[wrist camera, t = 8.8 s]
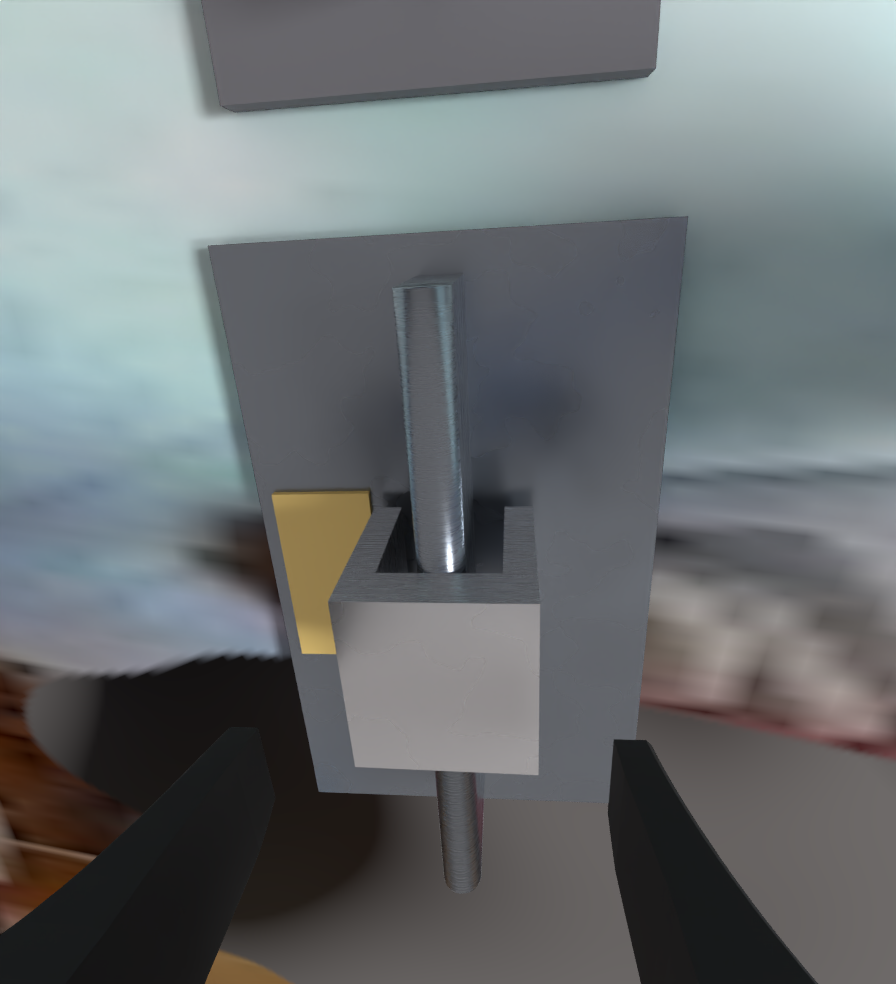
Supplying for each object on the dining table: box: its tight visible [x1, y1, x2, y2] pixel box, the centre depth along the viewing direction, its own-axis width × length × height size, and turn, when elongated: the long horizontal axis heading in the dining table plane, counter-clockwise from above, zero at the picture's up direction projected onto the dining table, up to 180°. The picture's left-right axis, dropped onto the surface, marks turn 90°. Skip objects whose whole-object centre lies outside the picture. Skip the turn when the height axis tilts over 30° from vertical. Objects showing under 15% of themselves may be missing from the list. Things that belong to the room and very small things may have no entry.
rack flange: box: [208, 216, 688, 893], centre depth 17 cm, size 12×20×5 cm, turn 3°
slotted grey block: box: [328, 506, 540, 775], centre depth 16 cm, size 5×5×5 cm
